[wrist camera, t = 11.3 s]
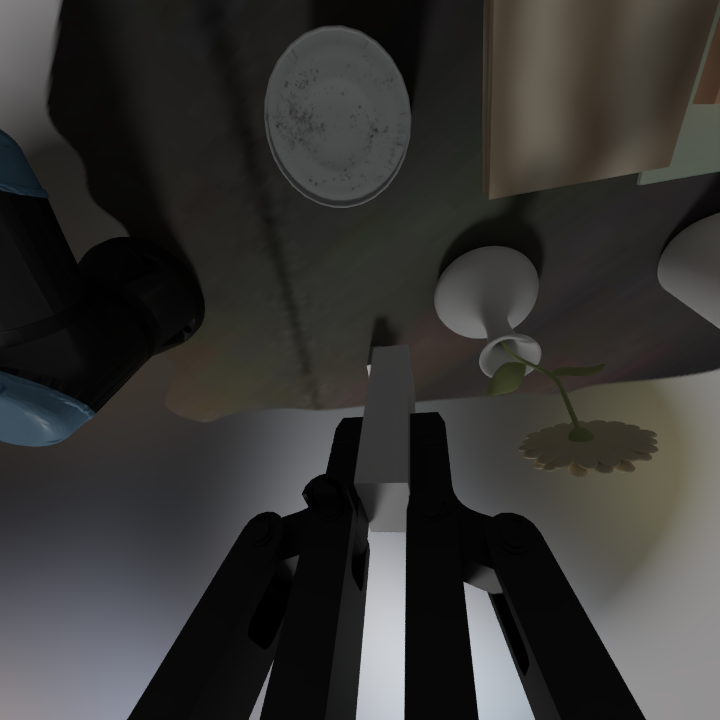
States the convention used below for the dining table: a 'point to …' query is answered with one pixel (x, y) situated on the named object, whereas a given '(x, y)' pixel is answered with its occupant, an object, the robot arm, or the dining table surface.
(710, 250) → the alcohol
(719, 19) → the terracotta tile
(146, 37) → the dining table surface
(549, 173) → the birch board
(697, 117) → the rubber mat
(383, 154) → the white cylinder
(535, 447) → the flower in vase
